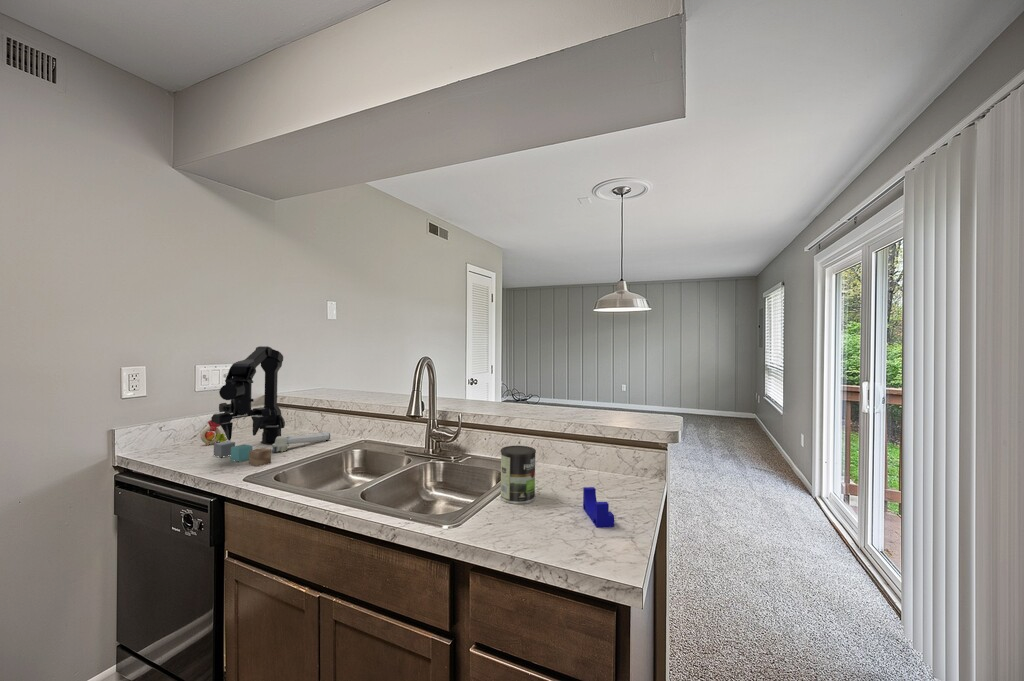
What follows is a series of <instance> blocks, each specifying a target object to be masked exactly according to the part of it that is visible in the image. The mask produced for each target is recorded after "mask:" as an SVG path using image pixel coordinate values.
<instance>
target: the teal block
mask: <svg viewBox="0 0 1024 681" xmlns="http://www.w3.org/2000/svg"><path fill="white" fill-rule="evenodd" d="M253 447H254V446H253V445H249V444H245V443H244V444H239V445H235V446H234V447H231V456H230V461H231V460H235V461H234V462H236V461H242V462H244V461H243V460H246V461H249V460H248V459H249V451H251V450H254V448H253Z"/></svg>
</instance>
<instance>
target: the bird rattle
mask: <svg viewBox="0 0 1024 681" xmlns="http://www.w3.org/2000/svg"><path fill="white" fill-rule="evenodd" d="M207 423H208V426H207V427H206V428H204V429H203V430H202V431H201V433H200V440H201V441H202V442H203V444H205V445H206V446H207V445H208V446H210V445H214V444H215V442H216V443H219V442H225V441H228V439H227V437H226V435H225V432H222V433H221V430H220V429H219V427H221V426H220V425H219V424H216V423H215V422H211V420H208V421H207ZM209 444H210V445H209Z"/></svg>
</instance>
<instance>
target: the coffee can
mask: <svg viewBox="0 0 1024 681" xmlns="http://www.w3.org/2000/svg"><path fill="white" fill-rule="evenodd" d="M536 450H537V449H535V447H532V446H527V445H509V446H504V447H502V448H501V449H500V457H501V458H500V499H501V500H502V502H504V503H508V504H512V505H513V504H514V505H524V504H526V505H527V504H529V503H532V502H534V501H535V499H536V453H537V451H536Z"/></svg>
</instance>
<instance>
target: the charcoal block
mask: <svg viewBox="0 0 1024 681" xmlns="http://www.w3.org/2000/svg"><path fill="white" fill-rule="evenodd" d="M234 446H236V442H234V441H231V440H230V441H229V440H226V441H224V442H220V443H219V442H216V443H213V456H214V455H215V456H219V457H223V456H228V455H231V447H234ZM228 457H229V456H228Z"/></svg>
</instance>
